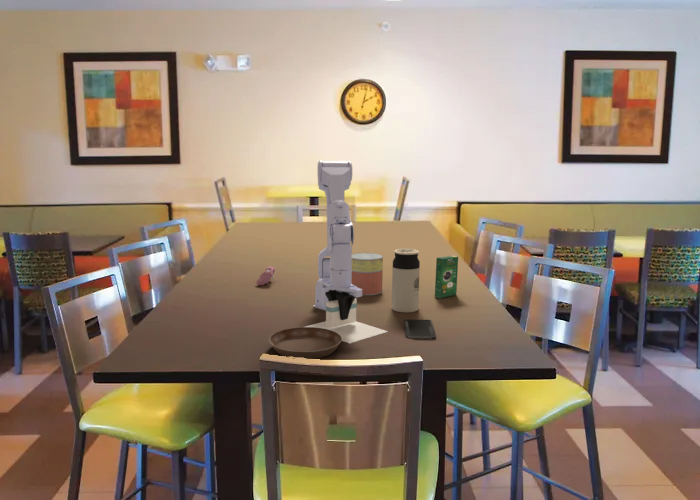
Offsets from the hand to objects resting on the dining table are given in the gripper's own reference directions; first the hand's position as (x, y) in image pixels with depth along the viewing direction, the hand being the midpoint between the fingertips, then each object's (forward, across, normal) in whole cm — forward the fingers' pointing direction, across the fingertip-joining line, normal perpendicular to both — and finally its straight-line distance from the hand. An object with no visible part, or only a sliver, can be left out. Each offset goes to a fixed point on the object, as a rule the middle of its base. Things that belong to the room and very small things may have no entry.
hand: (340, 318), depth 168 cm
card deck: (+2, 0, 0) cm, 2 cm away
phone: (+4, +15, +15) cm, 22 cm away
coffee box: (+3, -3, +49) cm, 49 cm away
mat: (+3, +2, 0) cm, 4 cm away
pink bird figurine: (+3, -57, +16) cm, 59 cm away
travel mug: (+3, -1, +27) cm, 27 cm away
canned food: (+3, -25, +34) cm, 42 cm away
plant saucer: (+3, +6, -17) cm, 18 cm away
